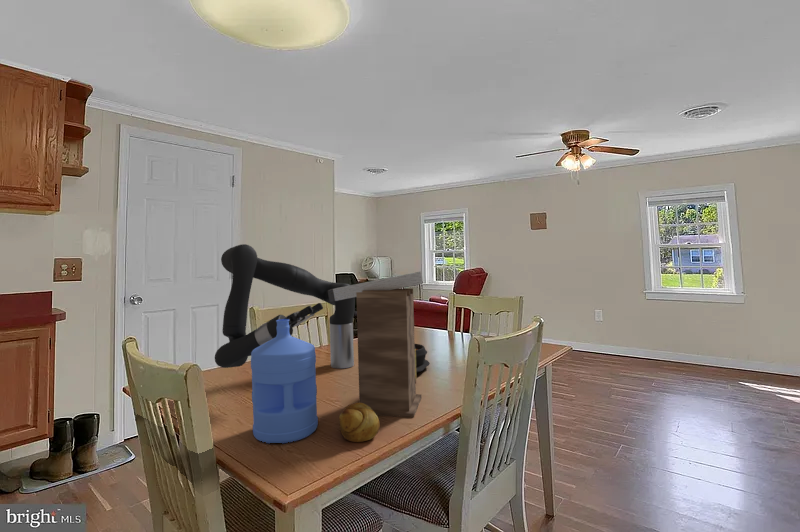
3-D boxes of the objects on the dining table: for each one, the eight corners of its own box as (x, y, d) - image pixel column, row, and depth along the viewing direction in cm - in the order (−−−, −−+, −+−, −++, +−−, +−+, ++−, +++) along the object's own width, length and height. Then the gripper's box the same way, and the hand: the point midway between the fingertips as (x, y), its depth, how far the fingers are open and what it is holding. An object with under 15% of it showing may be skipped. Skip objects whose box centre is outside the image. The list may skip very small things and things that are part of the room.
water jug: (251, 425, 104) (247, 318, 104) (311, 414, 111) (308, 313, 110) (255, 451, 90) (251, 327, 90) (324, 437, 96) (320, 321, 96)
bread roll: (338, 424, 104) (338, 394, 103) (376, 421, 105) (375, 391, 105) (339, 447, 91) (338, 413, 91) (382, 443, 92) (381, 409, 92)
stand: (367, 395, 125) (364, 288, 124) (421, 397, 122) (418, 287, 121) (352, 414, 110) (349, 292, 109) (413, 417, 107) (410, 292, 106)
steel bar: (332, 300, 122) (330, 289, 122) (422, 282, 120) (420, 271, 120) (329, 302, 118) (327, 290, 118) (422, 283, 116) (420, 271, 116)
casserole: (381, 361, 167) (381, 341, 166) (426, 359, 167) (425, 339, 167) (381, 379, 142) (380, 355, 142) (433, 377, 142) (433, 353, 142)
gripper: (256, 324, 118) (301, 298, 116) (278, 318, 132) (319, 294, 130) (268, 346, 118) (314, 320, 115) (289, 338, 132) (330, 314, 130)
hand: (316, 306), depth 123 cm, fingers open, 8 cm apart
